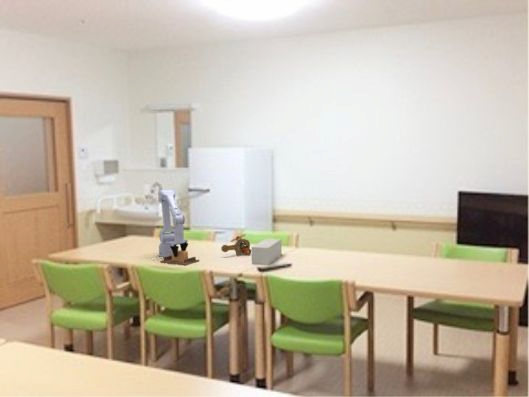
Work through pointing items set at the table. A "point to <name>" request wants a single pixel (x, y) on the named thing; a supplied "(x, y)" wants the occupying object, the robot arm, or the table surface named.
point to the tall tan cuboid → (180, 256)
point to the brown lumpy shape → (238, 246)
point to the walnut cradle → (186, 261)
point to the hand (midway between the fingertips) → (179, 255)
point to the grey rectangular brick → (266, 251)
